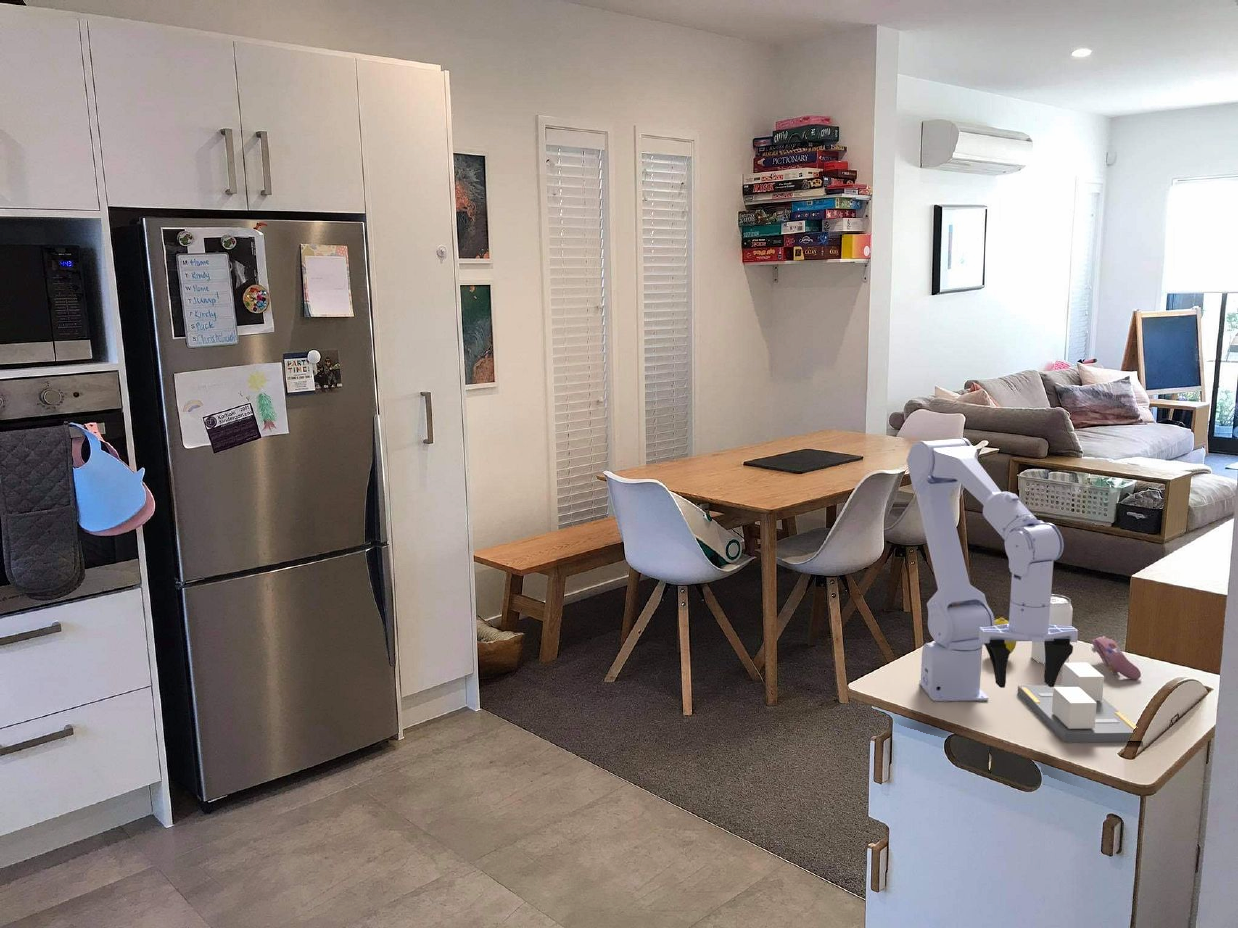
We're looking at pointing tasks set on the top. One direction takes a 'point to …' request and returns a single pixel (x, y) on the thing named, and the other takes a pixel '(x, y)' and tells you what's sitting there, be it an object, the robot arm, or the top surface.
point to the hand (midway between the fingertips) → (1024, 684)
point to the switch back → (1083, 679)
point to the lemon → (1009, 644)
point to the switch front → (1074, 707)
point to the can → (1054, 623)
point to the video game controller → (1115, 658)
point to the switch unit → (1106, 728)
